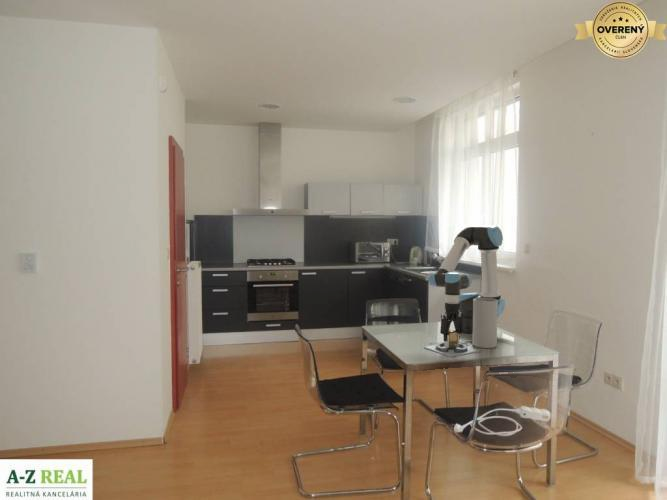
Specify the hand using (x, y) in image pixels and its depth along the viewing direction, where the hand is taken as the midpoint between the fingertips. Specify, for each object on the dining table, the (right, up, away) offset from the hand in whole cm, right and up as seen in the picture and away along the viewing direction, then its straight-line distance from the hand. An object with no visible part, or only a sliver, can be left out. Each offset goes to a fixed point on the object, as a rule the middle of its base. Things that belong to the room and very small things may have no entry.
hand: (451, 346), depth 257 cm
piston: (0, 0, 0) cm, 1 cm away
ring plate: (0, -2, 0) cm, 2 cm away
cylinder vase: (+20, -2, +9) cm, 22 cm away
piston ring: (0, -2, 0) cm, 2 cm away
